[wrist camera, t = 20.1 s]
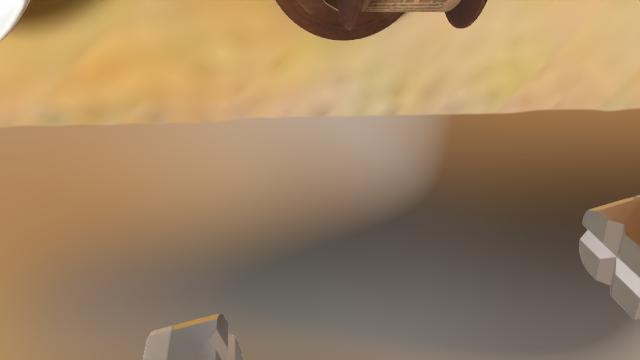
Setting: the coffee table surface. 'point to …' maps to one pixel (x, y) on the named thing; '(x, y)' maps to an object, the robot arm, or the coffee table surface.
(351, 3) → the brown tall piece
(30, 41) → the coffee table surface
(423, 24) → the coffee table surface
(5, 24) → the serving bowl
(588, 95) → the coffee table surface
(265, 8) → the coffee table surface
